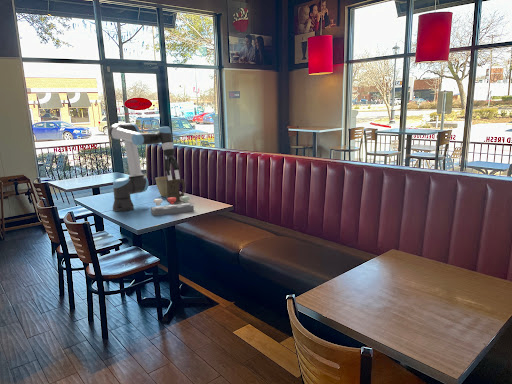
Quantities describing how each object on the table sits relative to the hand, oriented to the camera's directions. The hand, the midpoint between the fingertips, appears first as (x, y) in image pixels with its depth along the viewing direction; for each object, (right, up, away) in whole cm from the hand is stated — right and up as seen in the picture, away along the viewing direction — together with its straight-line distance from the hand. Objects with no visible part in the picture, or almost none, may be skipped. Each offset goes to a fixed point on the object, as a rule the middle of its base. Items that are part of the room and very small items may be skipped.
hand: (174, 179), depth 257 cm
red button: (-5, -17, +15) cm, 23 cm away
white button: (-14, -18, +11) cm, 25 cm away
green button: (+4, -16, +20) cm, 26 cm away
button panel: (-5, -23, +17) cm, 29 cm away
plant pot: (-24, -12, +73) cm, 78 cm away
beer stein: (-10, -16, +53) cm, 57 cm away
